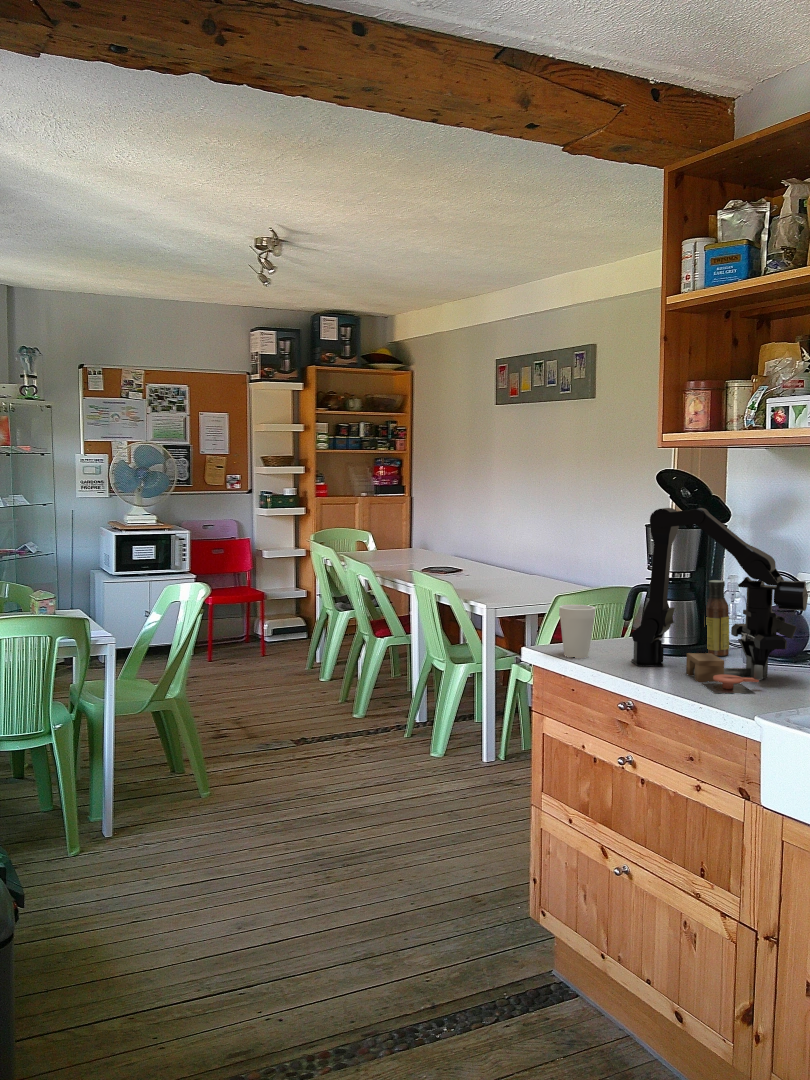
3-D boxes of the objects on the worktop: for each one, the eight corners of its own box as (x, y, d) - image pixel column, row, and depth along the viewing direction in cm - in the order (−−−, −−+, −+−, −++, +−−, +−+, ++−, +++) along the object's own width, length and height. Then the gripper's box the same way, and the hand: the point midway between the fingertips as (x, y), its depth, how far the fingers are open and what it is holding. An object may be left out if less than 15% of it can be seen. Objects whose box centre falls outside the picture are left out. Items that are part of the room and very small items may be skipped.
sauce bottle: (725, 652, 252) (728, 579, 250) (731, 657, 246) (734, 582, 244) (700, 651, 252) (703, 579, 251) (706, 656, 246) (708, 582, 245)
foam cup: (572, 660, 240) (573, 610, 239) (551, 654, 248) (552, 605, 247) (601, 657, 244) (603, 608, 243) (579, 651, 252) (580, 603, 251)
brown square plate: (715, 693, 206) (715, 692, 206) (701, 684, 215) (701, 683, 215) (755, 693, 206) (755, 692, 206) (739, 684, 215) (739, 683, 215)
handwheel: (715, 690, 208) (716, 667, 208) (710, 683, 214) (711, 661, 214) (765, 692, 207) (766, 668, 206) (758, 685, 213) (759, 662, 212)
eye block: (698, 681, 217) (698, 660, 217) (686, 673, 226) (686, 653, 226) (723, 681, 218) (724, 660, 217) (710, 673, 226) (711, 653, 226)
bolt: (696, 678, 220) (696, 657, 220) (692, 675, 223) (692, 654, 223) (767, 678, 221) (768, 657, 220) (762, 675, 224) (763, 654, 223)
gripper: (810, 613, 212) (807, 681, 213) (776, 601, 230) (773, 663, 231) (762, 613, 211) (759, 681, 213) (731, 601, 230) (729, 663, 231)
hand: (756, 671), depth 222 cm, fingers closed on bolt, 3 cm apart
